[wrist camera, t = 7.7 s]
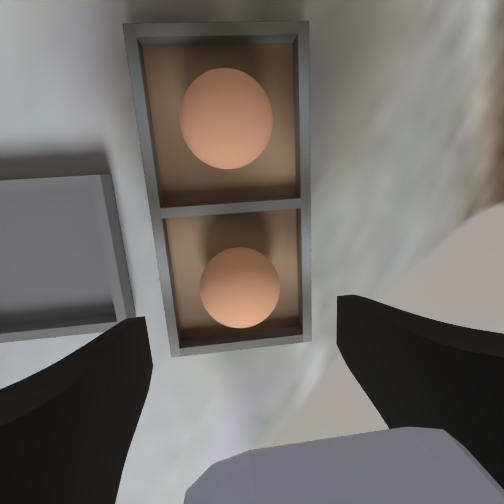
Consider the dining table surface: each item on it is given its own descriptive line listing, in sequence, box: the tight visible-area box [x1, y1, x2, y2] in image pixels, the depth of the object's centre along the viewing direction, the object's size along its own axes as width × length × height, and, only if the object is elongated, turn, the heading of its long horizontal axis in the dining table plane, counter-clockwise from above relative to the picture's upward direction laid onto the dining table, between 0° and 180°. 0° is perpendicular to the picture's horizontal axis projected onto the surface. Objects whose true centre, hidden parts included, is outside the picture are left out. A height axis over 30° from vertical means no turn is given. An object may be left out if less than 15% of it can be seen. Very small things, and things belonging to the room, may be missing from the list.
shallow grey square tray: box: [0, 174, 136, 343], centre depth 16 cm, size 8×8×2 cm
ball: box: [179, 68, 273, 169], centre depth 13 cm, size 4×4×4 cm
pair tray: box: [123, 21, 312, 358], centre depth 16 cm, size 16×8×2 cm, turn 3°
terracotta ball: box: [200, 247, 280, 328], centre depth 15 cm, size 4×4×4 cm
